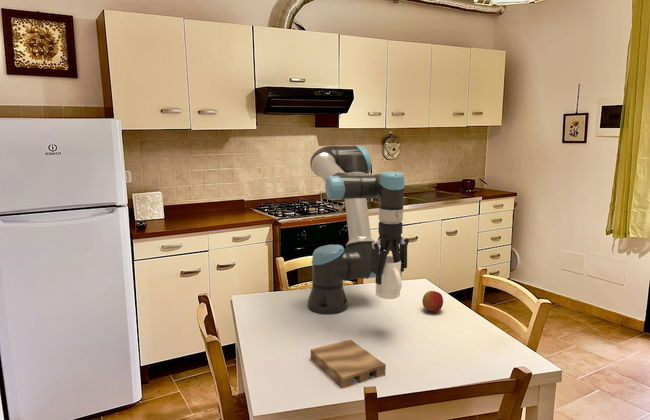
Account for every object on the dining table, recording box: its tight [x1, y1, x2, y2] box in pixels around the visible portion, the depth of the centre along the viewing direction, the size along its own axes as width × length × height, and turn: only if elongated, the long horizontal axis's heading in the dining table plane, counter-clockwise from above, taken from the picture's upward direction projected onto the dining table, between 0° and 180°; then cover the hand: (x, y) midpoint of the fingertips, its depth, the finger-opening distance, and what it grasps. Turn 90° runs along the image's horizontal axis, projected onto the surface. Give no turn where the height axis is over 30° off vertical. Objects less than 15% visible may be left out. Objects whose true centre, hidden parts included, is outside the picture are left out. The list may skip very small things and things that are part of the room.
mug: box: [374, 255, 403, 300], centre depth 153 cm, size 8×12×12 cm
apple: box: [422, 290, 444, 313], centre depth 176 cm, size 8×8×8 cm
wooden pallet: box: [310, 339, 387, 389], centre depth 136 cm, size 18×14×3 cm
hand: (388, 291), depth 153 cm, fingers closed on mug, 6 cm apart
